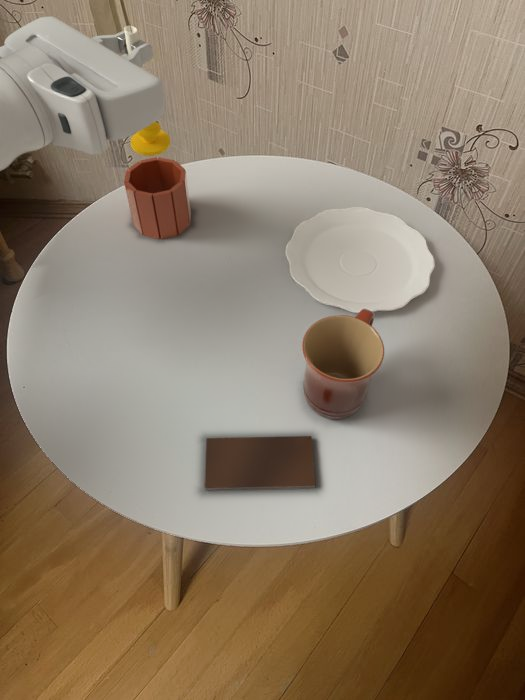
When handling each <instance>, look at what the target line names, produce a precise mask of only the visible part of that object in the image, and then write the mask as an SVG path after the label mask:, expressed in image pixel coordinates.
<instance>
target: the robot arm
mask: <svg viewBox="0 0 525 700" xmlns="http://www.w3.org/2000/svg"><path fill="white" fill-rule="evenodd" d="M131 49H132V52H131V54H130V55H129V56H128V50H127V45H126V38H125V31H124V30H121V31H119V32H117V33H115V34H105V35H95V36H93V37H89V35H88V36H87V35H86V34H84V33H83V32H82V31H79V30H77V29H76V28H74V27H73V26H71V25H69V24H67V23H66V22H64V21H62V20H60V19H59V18H57V17H55V16H51V15H50V16H49V15H48V16H41V17H39V18H36V19H35V20H33V21H30V22H29V23H27V24H25V25H23V26H22V27H20V28H18V29H16V30H15V31H13V32H12V33H10V34H9V35H8V36H7V37H6V38H5V40H4V45H2V46H0V172H2V171H3V170H5V169H7V168H8V167H9V166H11V164H12V163H13V162H14V161H15V160H16V159H17V158H19V157H21V156H22V155H24V154H27V153H31V152H35V151H38V150H41V149H42V148H45V147H47V146H49V145H52V146H54V147H58V148H66V149H71V150H74V151H77V152H80V153H83V154H87V155H90V156H99V155H101V154H102V153H105V152H106V151H107V150H108V148H109V144H108V141H121V140H124V139H127V138H129V137H131V136H133V135H134V134H136V133H137V132H138V131H140V130H142V129H144V128H146V127H147V126H149V125H150V124H152V123H154V122H155V121H156V122H158V121H159V120H160V119H161V118H162V117H163V116H164V114H165V111H166V107H167V103H166V93H165V87H164V83H163V80H162V79H161V78H160V77H158V76H155V75H154V74H152V73H150V72H149V71H147V70H146V69H145V70H144V69H142V68H141V67H142V65H143V64H144V65H145V64H146V63H148V62H150V61H151V60H153V57H154V53H153V46H152V45H151V44H150V43H148V42H146V41H144V40H143V39H140V40H139V41H138V42H135V43H133V44H131ZM120 54H121V55H120Z"/></svg>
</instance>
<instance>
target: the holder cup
mask: <svg viewBox="0 0 525 700" xmlns="http://www.w3.org/2000/svg"><path fill="white" fill-rule="evenodd" d="M124 174H125V175H124V180H123V184H124V189H125V193H126V196H127V197H126V198H127V201H128V205H129V209H130V214H131V219H132V223H133V227H134V228H135V229H136V230H137V231H138V232H139V233H140V234H141V235H142V236H144V237H147V238H151V239H157V240H165V239H169V238H173V237H176V236H178V235H181V234H182V233H183V232H184V231H185V230H187V228H189V227H190V225H191V218H192V211H191V202H190V193H189V185H188V180H187V179H188V178H187V171H186V169H185V167H183V166H182V165H181V164H180V163H179V162H178V161H177V160H176V161H175V160H174V159H171V158H165V157H160V156H158V157H157V156H155V157H151V158H146V159H141V160H139V161H137V162H135V163H134V164H133V165H131V166H130V167H129V168H127V169H126V171H125V173H124Z"/></svg>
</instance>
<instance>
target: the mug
mask: <svg viewBox="0 0 525 700" xmlns="http://www.w3.org/2000/svg"><path fill="white" fill-rule="evenodd" d="M375 316H376V315H375V313H374V312H372V311H370V310H368V309H362V310H361V311H360V312H359V313H357V315H356V316H351V315H347V314H346V315H345V314H341V315H340V314H339V315H331V316H330V315H329V316H326V317H323V318H321V319H319V320H317V321H316V322H313V324H312V325H310V327H308V329H307V330H306V332H305V334H304V336H303V339H302V345H301V347H302V354H303V357H304V359H305V362H306V367H305V371H304V377H303V383H302V384H303V387H302V388H303V394H304V396H305V401H306V403H307V405H308V406H309V408H310V409H311V410H312V411H313V412H314V413H316V414H317V415H319V416H320V417H323V418H326V419H330V420H343V419H346V418H348V417H350V416H352V415H354V414H355V413H356V412H357V411H358V410H359V409H360V407H361V405H363V403H364V401H365V400H366V397H367V393H368V390H369V385H370V380H371V377H372V376H373V375H374V374H376V372H377V371H378V370H379V368H380V367H381V366H382V363H383V361H384V358H385V345H384V341H383V339H382V337H381V335H380V334H379V332H378V331H377V329H375V328H374V326H373V324H374V320H375Z"/></svg>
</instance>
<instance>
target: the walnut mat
mask: <svg viewBox="0 0 525 700" xmlns="http://www.w3.org/2000/svg"><path fill="white" fill-rule="evenodd" d="M204 463H205V466H204V490H205V491H237V490H238V491H242V490H245V491H247V490H284V489H285V490H287V489H288V490H290V489H291V490H292V489H315V488H316V475H315V463H314V451H313V441H312V436H311V435H300V436H298V435H297V436H296V435H293V436H291V435H290V436H249V437H248V436H246V437H244V436H243V437H241V436H239V437H207V438H206V439H205V461H204Z"/></svg>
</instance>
